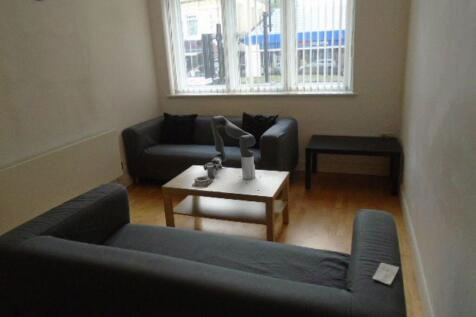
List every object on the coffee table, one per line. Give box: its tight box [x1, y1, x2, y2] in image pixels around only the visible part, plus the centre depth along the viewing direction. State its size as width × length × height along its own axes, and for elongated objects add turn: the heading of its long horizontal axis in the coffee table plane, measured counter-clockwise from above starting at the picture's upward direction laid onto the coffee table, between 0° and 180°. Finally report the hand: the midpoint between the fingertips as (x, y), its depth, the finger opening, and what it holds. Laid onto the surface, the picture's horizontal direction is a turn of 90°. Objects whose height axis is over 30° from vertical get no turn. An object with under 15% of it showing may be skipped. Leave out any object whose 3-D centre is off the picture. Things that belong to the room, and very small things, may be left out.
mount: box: [191, 175, 214, 188], centre depth 279 cm, size 12×12×4 cm
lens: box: [206, 162, 215, 180], centre depth 289 cm, size 5×5×12 cm
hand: (210, 169), depth 290 cm, fingers open, 8 cm apart
